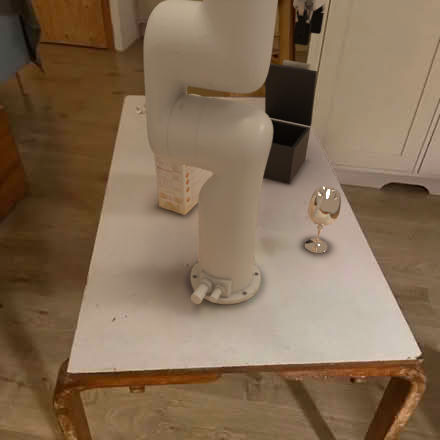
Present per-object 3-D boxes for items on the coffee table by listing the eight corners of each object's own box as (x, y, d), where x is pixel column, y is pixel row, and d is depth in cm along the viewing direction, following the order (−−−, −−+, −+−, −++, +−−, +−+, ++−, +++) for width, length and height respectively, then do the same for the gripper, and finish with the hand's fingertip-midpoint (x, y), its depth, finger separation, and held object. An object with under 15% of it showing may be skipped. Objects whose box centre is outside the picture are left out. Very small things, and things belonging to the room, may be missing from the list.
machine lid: (316, 73, 95) (323, 59, 98) (265, 64, 98) (273, 51, 101) (310, 126, 106) (317, 113, 109) (265, 116, 110) (272, 104, 112)
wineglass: (330, 257, 86) (343, 204, 77) (300, 252, 86) (310, 200, 78) (331, 239, 90) (343, 187, 81) (302, 235, 91) (312, 183, 82)
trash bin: (289, 184, 105) (294, 149, 98) (243, 172, 108) (245, 138, 102) (305, 160, 113) (310, 127, 107) (262, 150, 116) (265, 117, 110)
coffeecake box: (192, 176, 106) (190, 92, 93) (218, 184, 104) (220, 99, 90) (157, 206, 97) (149, 118, 83) (185, 216, 94) (181, 127, 81)
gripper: (314, -69, 91) (301, 26, 103) (288, -60, 79) (277, 46, 91) (351, -66, 89) (333, 31, 100) (329, -56, 77) (313, 51, 89)
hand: (307, 38), depth 96 cm, fingers open, 9 cm apart
